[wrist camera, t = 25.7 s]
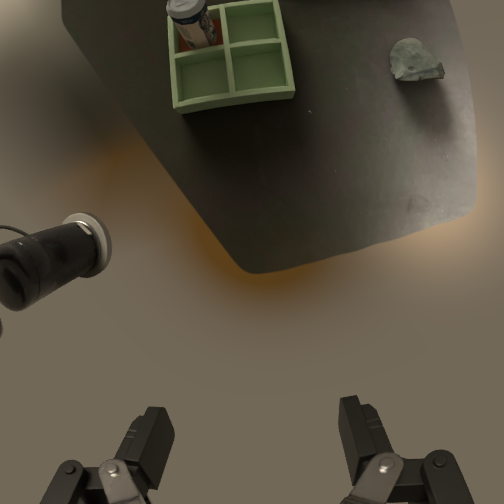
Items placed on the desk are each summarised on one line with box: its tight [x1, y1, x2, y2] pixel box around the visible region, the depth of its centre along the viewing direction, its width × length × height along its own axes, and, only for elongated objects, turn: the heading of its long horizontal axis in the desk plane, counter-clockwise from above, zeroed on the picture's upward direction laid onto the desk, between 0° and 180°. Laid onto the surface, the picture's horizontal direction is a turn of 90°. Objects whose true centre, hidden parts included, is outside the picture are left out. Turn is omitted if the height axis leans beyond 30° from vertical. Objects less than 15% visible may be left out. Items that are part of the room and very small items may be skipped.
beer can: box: [166, 0, 217, 50], centre depth 30 cm, size 5×5×12 cm
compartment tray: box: [168, 0, 295, 114], centre depth 35 cm, size 16×16×4 cm
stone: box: [389, 37, 445, 81], centre depth 34 cm, size 11×4×10 cm
